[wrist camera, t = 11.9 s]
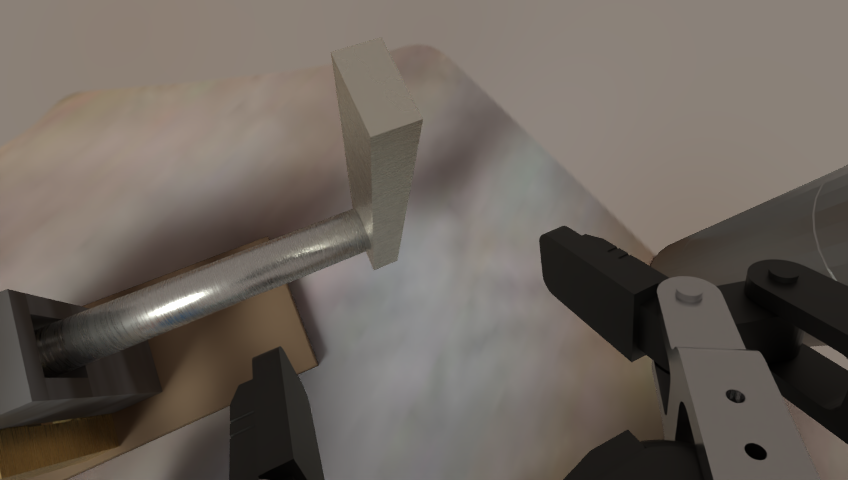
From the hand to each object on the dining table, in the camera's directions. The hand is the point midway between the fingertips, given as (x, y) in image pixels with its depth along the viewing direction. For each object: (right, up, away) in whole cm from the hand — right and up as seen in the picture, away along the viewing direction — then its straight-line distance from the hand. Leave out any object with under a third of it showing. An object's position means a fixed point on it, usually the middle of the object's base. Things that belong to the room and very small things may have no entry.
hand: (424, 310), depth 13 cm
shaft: (-10, -1, +13) cm, 17 cm away
